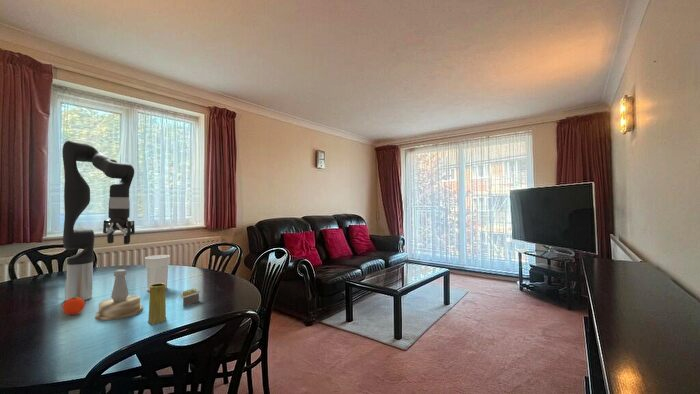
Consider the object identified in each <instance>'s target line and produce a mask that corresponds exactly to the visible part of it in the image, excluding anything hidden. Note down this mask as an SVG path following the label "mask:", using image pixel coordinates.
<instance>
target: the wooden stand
mask: <svg viewBox="0 0 700 394" xmlns="http://www.w3.org/2000/svg"><path fill="white" fill-rule="evenodd" d="M143 310H144V306H143V305H142V304H141V297H140V296H139V295H133V294H132V295H131V294H130V295H128V297H127V299H126V300H125V301H123V302H114V301H113V300H112V298H111V297H110V298H107V299H104V300H102V301H100V302H99V303H98V311H97V312H95V315H94V318H95V319H96V320H99V321H113V320H120V319H121V320H122V319H125V318H128V317H132V316H135V315H137V314H139V313H141V312H142V311H143Z"/></svg>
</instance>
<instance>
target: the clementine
mask: <svg viewBox="0 0 700 394" xmlns="http://www.w3.org/2000/svg"><path fill="white" fill-rule="evenodd" d="M85 306H86V302H85V300H83V299H82V298H79V297H73V298H70V299H68V300H67V301H66V300H65V302H63V305H62V311H63V313H64V314H66V315H69V316H71V315H73V316H74V315H77V314H79V313H80V312H82V311H83V310H84V308H85Z"/></svg>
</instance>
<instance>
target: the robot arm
mask: <svg viewBox="0 0 700 394" xmlns="http://www.w3.org/2000/svg"><path fill="white" fill-rule="evenodd" d="M61 155H62V162H63V172H64V173H63V174H64V175H63V176H64V184H63V185H64V186H63V187H64V188H63V199H64V200H63V201H64V202H63V203H64V223H63V233H62V234H63V236H62V245H63V247H64V249H65V250H69V251H70V250H80V249H82V251H80V252H79V253H76V254H74V255H71V256H69V257H67V259H66V279H65V281H64V301H65V302H66V301H67V300H68V299H70V298H73V297H79V298H82V299H83V300H84V301H86V300H90V299H91V298H92V297H93V284H94V283H93V281H94V279H93V276H94V274H93V273H94V267H93V266H94V249H95V248H94V247H95V246H94V245H95V232H94V230H93V229H92V228H83V229H81V228H80V229H75V224H76V222H77V220H78V218H79V217H80V215H81V214H83V212H84V211H85V209H86V208H87V207H88V206H89V205H90V203H91V188H90V186H89V183H87V180H86V179H85V178H84V177H83V176H82V174H81V173H80V171H79V169H78V165H77V162H82V163H91V164H92V165H93V167H94V168H96V169H97V170H99V171H101V172H103V173H104V175H105V176H106V177H107V178H110V179H120V181H119V182H118V183H113V184H111V185H110V186H109V200H108V218H109V219H104V220H103V226H102V227H103V228H102V233H103V234H106V237H107V238H106V241H107V244H113V243H114V242H115V241H114V239H115V237H114V233H116V231H120V232H121V233H122V234H123V244H124V245H129V244H130V243H131V235H135V233H136V232H135V231H136V229H135V226H136V225H135V220H128V219H129V218H130V215H131V214H130V212H131V209H130V208H131V206H130V205H131V202H130V188H131V185H132V182H133V179H134V178H135V177H134V176H135V168H134V167H133V165H131V164H130V163H122V162H118V161H117V160H115V159H114V158H112V157H110V156H107V155H106V154H104V153H102V152H101V151H99V150H98V149H97V148H96V147H95V146H93V145H92V144H89V143H86V142H79V141H75V140H67V141H66V140H65V142H64V143H63V146H62V154H61Z"/></svg>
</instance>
